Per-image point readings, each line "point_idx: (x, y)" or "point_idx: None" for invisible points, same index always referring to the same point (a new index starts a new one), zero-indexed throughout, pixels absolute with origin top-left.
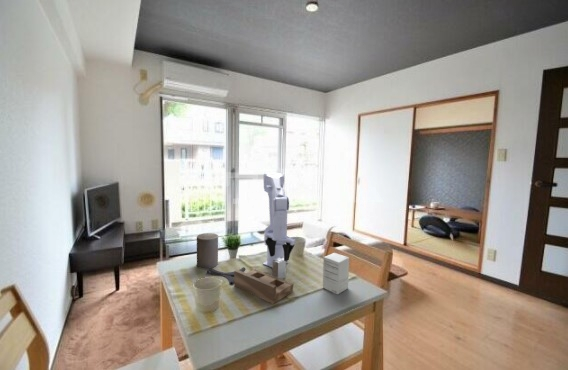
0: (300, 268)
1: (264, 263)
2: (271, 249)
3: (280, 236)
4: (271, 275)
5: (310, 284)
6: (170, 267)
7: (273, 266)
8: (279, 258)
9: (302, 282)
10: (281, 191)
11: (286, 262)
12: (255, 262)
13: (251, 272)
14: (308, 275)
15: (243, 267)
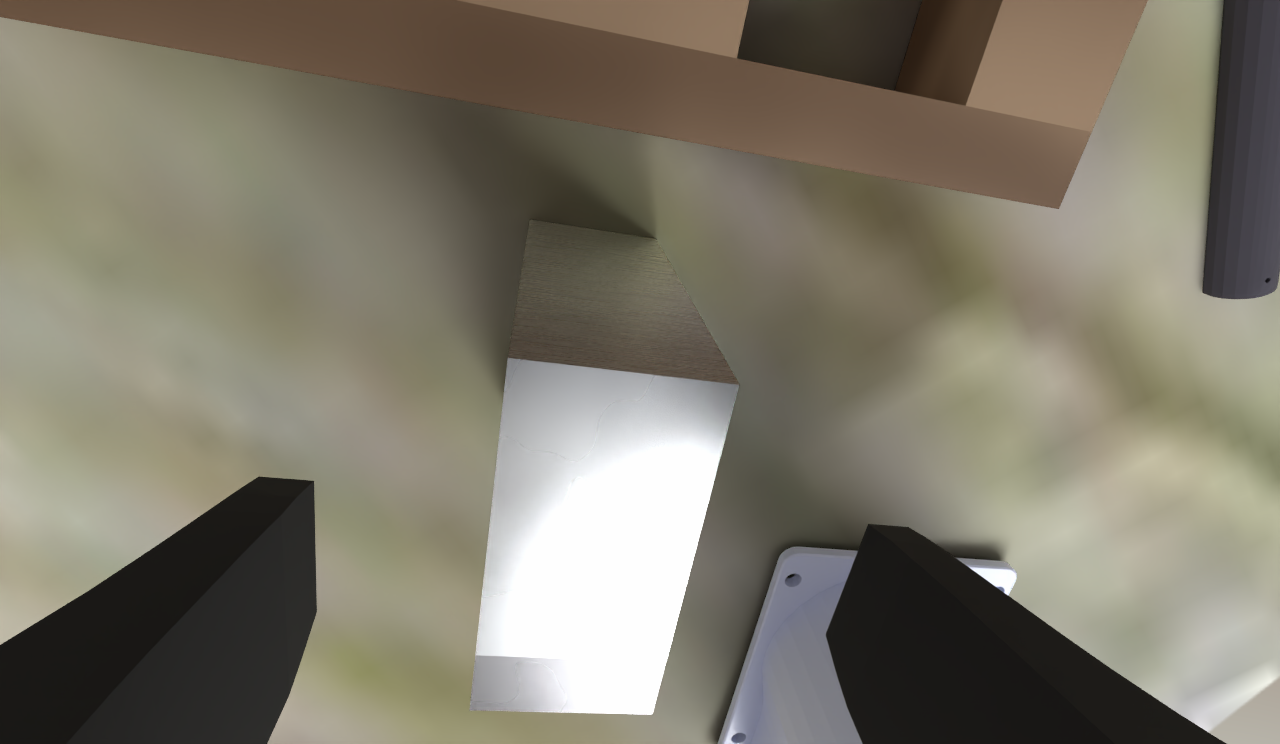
0: (484, 719)
1: (992, 574)
2: (1015, 737)
3: None
4: (611, 122)
5: (15, 420)
6: None
7: (673, 317)
8: (644, 598)
9: (168, 408)
10: None
11: (724, 740)
12: (1124, 550)
13: (1080, 11)
14: None
15: (1267, 283)
